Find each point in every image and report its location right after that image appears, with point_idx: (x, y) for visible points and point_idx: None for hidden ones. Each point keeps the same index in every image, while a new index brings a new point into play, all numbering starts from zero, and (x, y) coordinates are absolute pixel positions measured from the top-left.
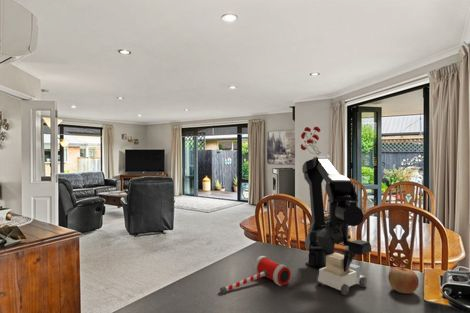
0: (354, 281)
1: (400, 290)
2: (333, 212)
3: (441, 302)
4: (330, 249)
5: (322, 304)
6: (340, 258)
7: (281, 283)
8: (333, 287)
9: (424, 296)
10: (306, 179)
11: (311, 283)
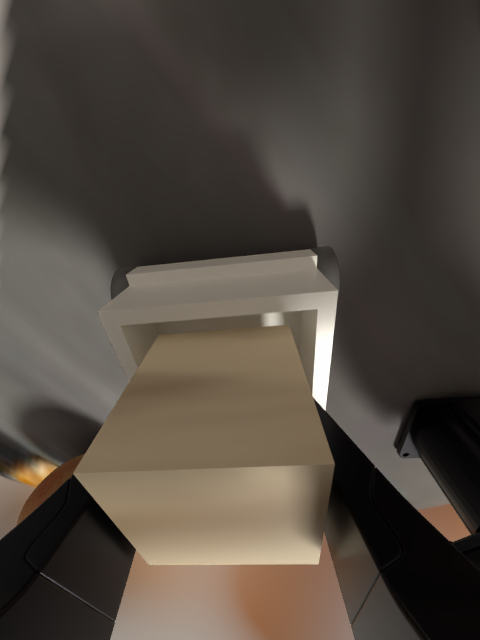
0: None
1: (76, 457)
2: None
3: (24, 475)
4: (367, 615)
5: (73, 9)
6: (129, 503)
7: None
8: (187, 262)
9: None
10: None
11: (352, 237)
